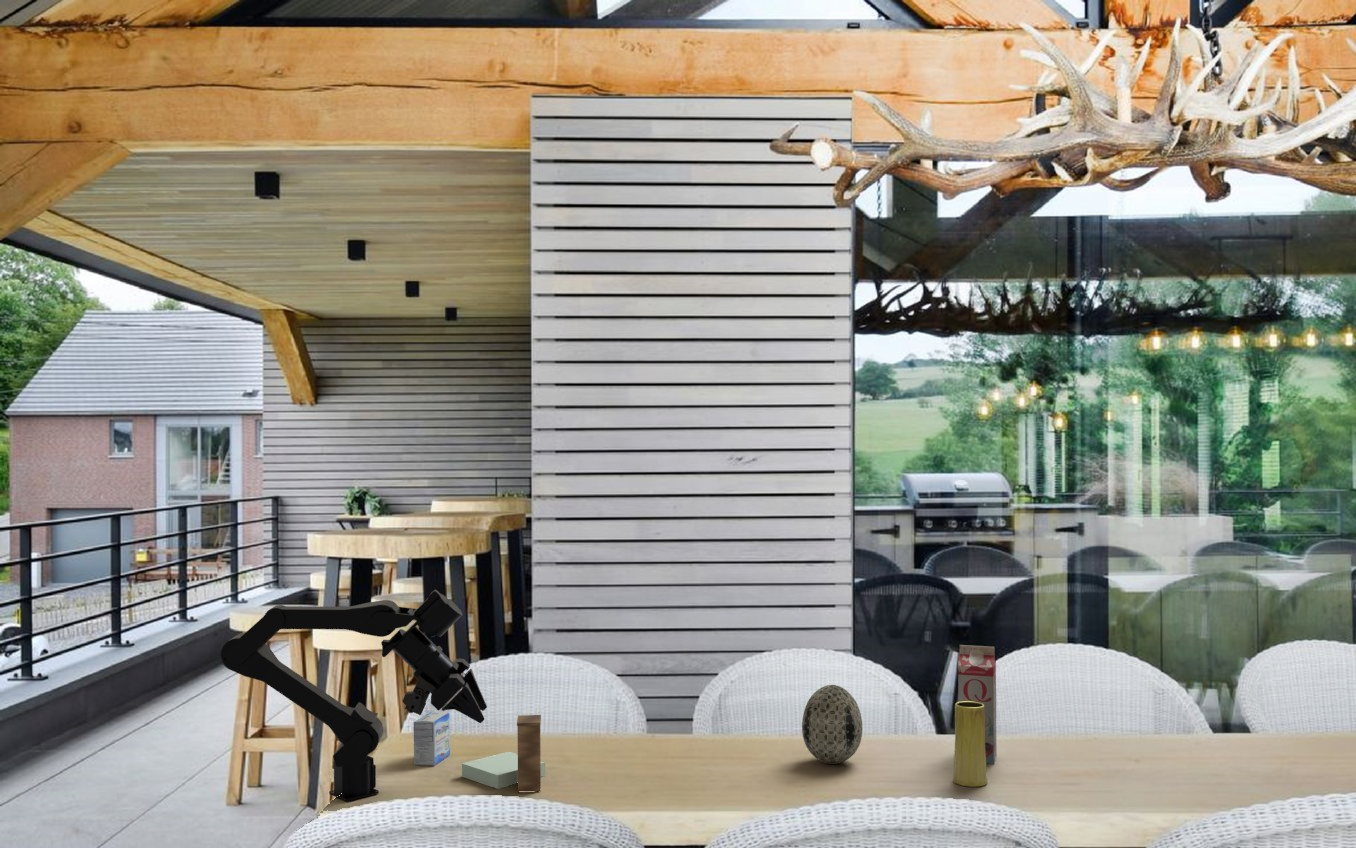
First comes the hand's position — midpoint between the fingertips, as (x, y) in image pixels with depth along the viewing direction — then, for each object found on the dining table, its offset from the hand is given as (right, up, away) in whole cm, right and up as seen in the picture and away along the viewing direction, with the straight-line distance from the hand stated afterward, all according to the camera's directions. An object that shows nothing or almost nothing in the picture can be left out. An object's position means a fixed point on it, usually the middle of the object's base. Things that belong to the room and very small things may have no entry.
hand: (483, 715), depth 212 cm
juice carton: (+94, -13, +18) cm, 97 cm away
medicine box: (-13, -14, +19) cm, 27 cm away
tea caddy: (+8, -13, +1) cm, 16 cm away
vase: (+89, -13, +2) cm, 90 cm away
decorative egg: (+65, -13, +15) cm, 68 cm away
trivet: (+2, -13, +8) cm, 16 cm away
